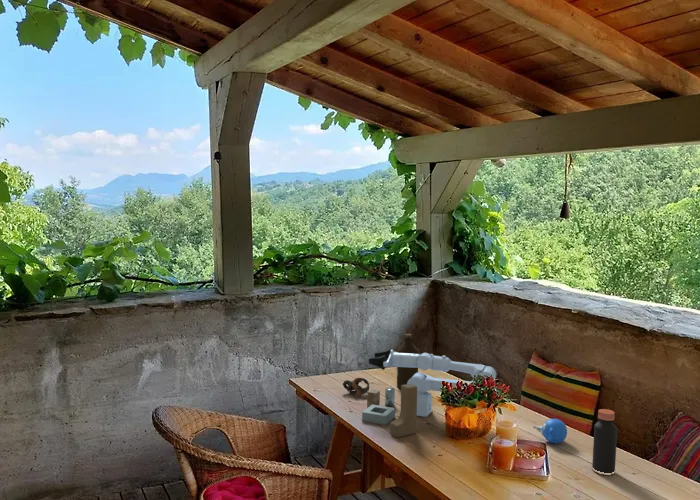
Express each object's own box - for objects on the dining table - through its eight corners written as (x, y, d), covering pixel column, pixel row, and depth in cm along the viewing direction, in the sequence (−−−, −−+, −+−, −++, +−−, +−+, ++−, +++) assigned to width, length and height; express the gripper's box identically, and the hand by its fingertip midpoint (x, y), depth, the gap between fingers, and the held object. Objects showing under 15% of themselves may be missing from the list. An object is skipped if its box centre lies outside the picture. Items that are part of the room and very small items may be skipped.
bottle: (595, 465, 200) (598, 406, 199) (617, 471, 196) (620, 411, 194) (589, 471, 195) (592, 411, 193) (611, 478, 191) (614, 416, 189)
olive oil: (420, 385, 284) (422, 333, 282) (415, 391, 274) (416, 337, 272) (399, 382, 288) (400, 331, 286) (392, 389, 278) (394, 335, 276)
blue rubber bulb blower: (535, 432, 228) (536, 410, 227) (569, 438, 222) (570, 416, 222) (529, 443, 217) (530, 420, 217) (563, 450, 212) (564, 427, 211)
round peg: (395, 404, 257) (396, 388, 256) (392, 407, 253) (392, 391, 253) (387, 403, 259) (387, 387, 258) (383, 405, 255) (383, 389, 254)
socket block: (394, 416, 242) (395, 408, 242) (385, 425, 233) (385, 416, 233) (372, 412, 246) (372, 404, 246) (362, 420, 237) (362, 412, 237)
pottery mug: (366, 390, 276) (371, 378, 272) (365, 406, 268) (370, 393, 264) (341, 384, 276) (346, 371, 271) (339, 399, 268) (343, 386, 263)
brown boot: (396, 438, 221) (397, 389, 219) (389, 433, 224) (390, 386, 223) (416, 433, 225) (417, 386, 224) (409, 429, 229) (410, 383, 227)
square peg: (379, 406, 254) (379, 390, 253) (375, 409, 250) (376, 393, 249) (370, 405, 255) (371, 389, 255) (367, 408, 252) (367, 391, 251)
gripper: (407, 345, 254) (376, 344, 259) (397, 355, 241) (365, 354, 246) (408, 361, 255) (377, 360, 260) (398, 372, 242) (366, 370, 247)
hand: (372, 358), depth 253 cm, fingers open, 7 cm apart
